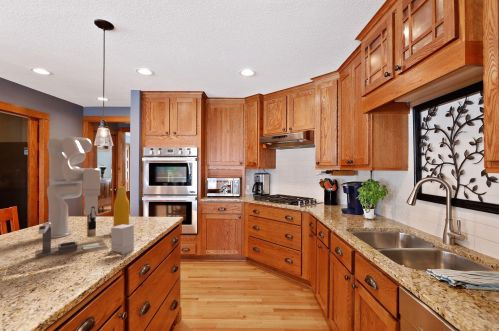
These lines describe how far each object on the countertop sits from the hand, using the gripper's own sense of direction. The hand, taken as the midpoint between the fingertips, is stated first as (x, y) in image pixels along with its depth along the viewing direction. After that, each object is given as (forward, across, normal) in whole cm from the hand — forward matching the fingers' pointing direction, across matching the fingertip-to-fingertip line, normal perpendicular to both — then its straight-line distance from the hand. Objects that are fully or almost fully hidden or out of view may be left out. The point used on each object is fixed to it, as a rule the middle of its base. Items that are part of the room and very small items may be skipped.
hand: (91, 228), depth 125 cm
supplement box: (+11, +14, +11) cm, 21 cm away
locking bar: (-3, +5, -18) cm, 19 cm away
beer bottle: (+11, -29, +20) cm, 37 cm away
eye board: (+11, -1, -8) cm, 13 cm away
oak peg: (+4, 0, 0) cm, 4 cm away
